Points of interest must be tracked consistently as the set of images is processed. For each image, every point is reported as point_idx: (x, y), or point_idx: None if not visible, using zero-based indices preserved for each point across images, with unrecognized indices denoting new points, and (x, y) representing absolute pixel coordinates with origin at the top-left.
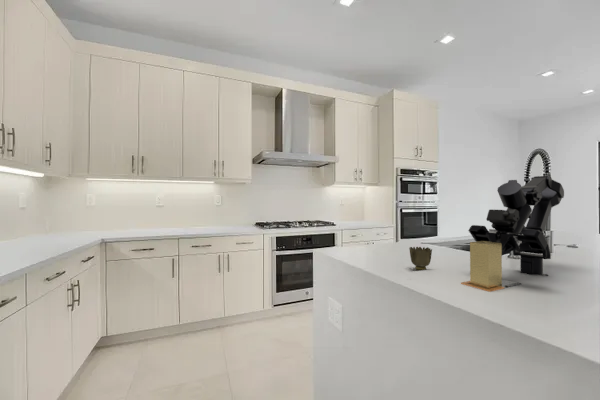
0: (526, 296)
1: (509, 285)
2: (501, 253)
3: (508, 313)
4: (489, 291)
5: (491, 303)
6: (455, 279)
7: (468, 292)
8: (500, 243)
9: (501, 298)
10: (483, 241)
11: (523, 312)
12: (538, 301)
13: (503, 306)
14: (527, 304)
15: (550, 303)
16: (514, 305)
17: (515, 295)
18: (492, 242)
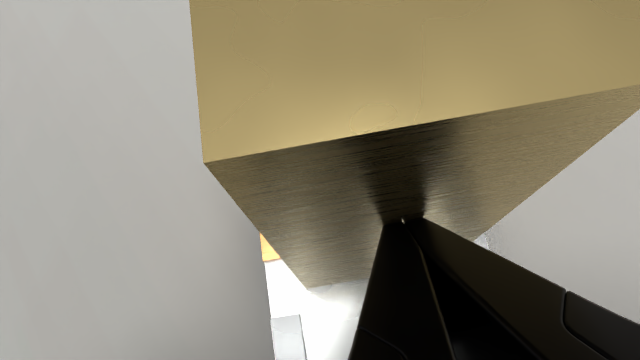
0: (157, 324)
1: (284, 345)
2: (258, 227)
3: (58, 5)
4: None
5: (165, 33)
6: (620, 190)
7: None
8: (202, 125)
9: (194, 140)
10: (564, 3)
11: (32, 69)
12: (72, 298)
13: (116, 51)
14: (76, 185)
15: (20, 334)
16: (100, 110)
17: (197, 271)
18: (364, 58)
